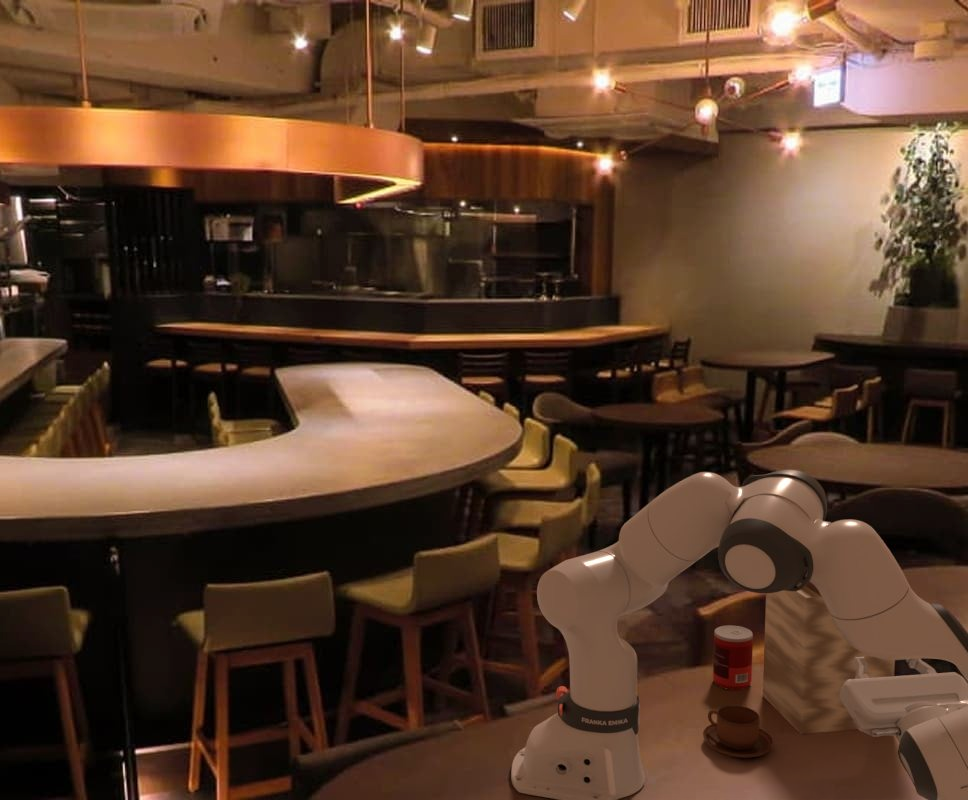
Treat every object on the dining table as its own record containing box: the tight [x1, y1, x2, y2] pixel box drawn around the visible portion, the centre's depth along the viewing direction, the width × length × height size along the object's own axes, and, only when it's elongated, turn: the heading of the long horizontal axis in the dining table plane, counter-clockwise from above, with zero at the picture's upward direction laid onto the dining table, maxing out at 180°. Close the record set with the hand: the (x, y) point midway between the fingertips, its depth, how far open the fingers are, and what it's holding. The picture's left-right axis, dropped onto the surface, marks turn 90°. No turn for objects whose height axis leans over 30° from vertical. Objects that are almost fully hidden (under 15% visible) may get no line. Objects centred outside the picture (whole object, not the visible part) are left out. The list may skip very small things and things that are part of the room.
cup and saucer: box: [702, 704, 773, 759], centre depth 164 cm, size 12×12×6 cm
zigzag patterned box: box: [762, 583, 896, 735], centre depth 177 cm, size 18×16×27 cm
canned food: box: [712, 624, 754, 691], centre depth 190 cm, size 8×8×11 cm
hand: (884, 657), depth 150 cm, fingers open, 8 cm apart
